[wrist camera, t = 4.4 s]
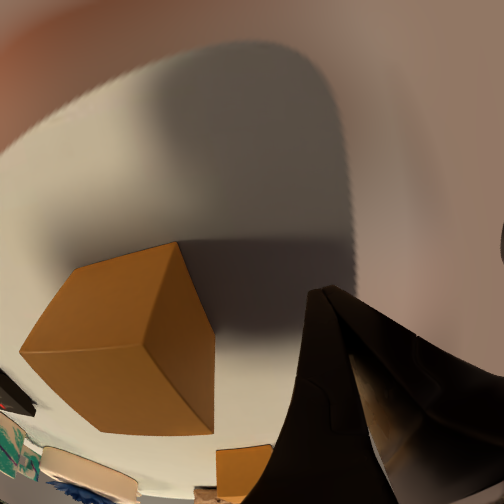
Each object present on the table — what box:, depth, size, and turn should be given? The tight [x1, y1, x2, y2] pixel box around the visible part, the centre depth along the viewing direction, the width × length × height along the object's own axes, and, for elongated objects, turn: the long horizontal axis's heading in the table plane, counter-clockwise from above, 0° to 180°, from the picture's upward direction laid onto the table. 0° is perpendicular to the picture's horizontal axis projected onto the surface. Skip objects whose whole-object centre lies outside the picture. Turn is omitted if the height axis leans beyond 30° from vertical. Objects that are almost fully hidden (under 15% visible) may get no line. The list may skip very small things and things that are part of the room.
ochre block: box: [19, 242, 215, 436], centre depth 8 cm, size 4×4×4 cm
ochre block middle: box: [216, 445, 273, 503], centre depth 17 cm, size 4×4×4 cm
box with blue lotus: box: [39, 447, 142, 504], centre depth 23 cm, size 7×16×20 cm
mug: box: [0, 412, 41, 481], centre depth 16 cm, size 8×12×8 cm
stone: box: [193, 489, 240, 504], centre depth 25 cm, size 9×11×5 cm
